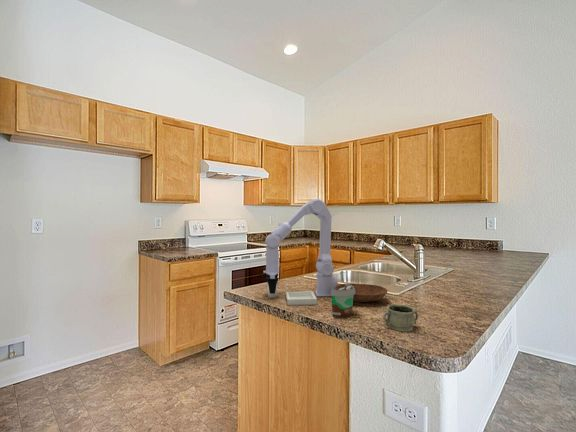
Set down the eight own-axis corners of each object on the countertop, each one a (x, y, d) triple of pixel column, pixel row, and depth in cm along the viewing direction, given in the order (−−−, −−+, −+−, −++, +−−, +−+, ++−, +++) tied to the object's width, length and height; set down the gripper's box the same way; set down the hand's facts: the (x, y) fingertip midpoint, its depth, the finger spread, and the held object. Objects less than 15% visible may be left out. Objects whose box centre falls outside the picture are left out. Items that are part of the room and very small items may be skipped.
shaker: (277, 295, 139) (277, 279, 139) (277, 297, 134) (277, 281, 134) (267, 295, 138) (267, 279, 138) (267, 297, 134) (267, 282, 134)
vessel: (411, 321, 105) (411, 303, 105) (425, 331, 96) (425, 311, 96) (377, 323, 103) (377, 304, 103) (389, 333, 95) (389, 313, 95)
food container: (346, 321, 105) (346, 292, 105) (330, 317, 109) (330, 289, 109) (360, 311, 115) (360, 285, 115) (346, 308, 119) (346, 283, 119)
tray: (312, 296, 135) (312, 291, 135) (316, 305, 123) (316, 298, 123) (285, 297, 135) (285, 291, 135) (287, 305, 123) (287, 299, 123)
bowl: (390, 308, 119) (390, 296, 119) (333, 305, 123) (333, 293, 123) (384, 295, 138) (384, 284, 138) (336, 292, 142) (336, 282, 142)
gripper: (263, 258, 143) (263, 287, 143) (263, 264, 129) (263, 296, 129) (278, 258, 144) (278, 287, 144) (279, 263, 129) (279, 295, 129)
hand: (272, 291), depth 136 cm, fingers open, 6 cm apart
